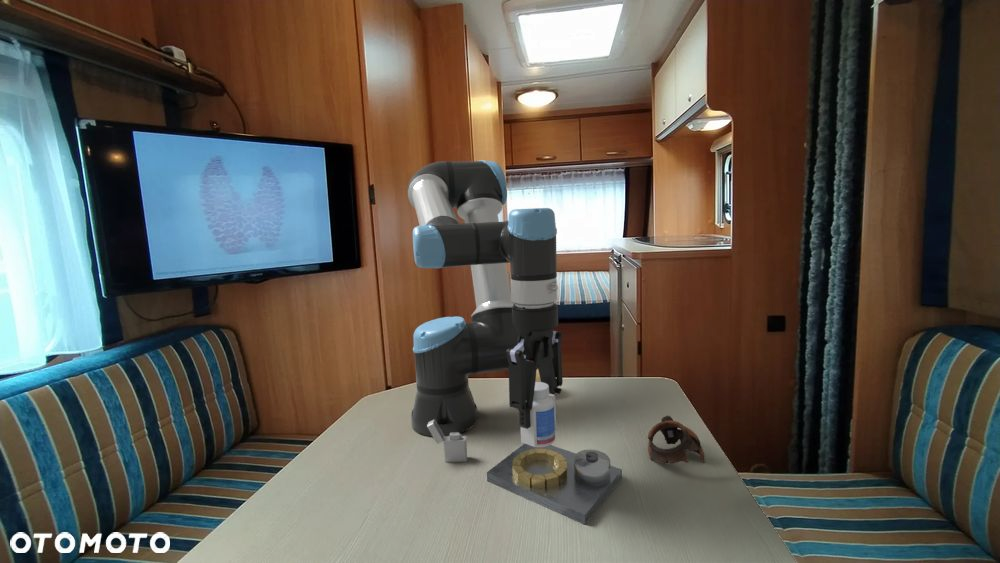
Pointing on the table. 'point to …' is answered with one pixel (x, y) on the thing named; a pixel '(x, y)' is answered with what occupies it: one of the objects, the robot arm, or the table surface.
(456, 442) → the lighter
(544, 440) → the pill bottle
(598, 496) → the carrier plate
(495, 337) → the robot arm
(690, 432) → the pottery mug
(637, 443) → the table surface
